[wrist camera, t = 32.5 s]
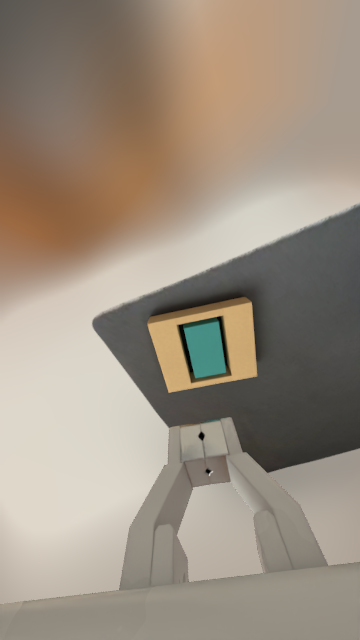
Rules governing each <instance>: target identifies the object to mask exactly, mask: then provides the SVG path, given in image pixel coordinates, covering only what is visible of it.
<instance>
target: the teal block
mask: <svg viewBox="0 0 360 640" xmlns="http://www.w3.org/2000/svg"><path fill="white" fill-rule="evenodd" d="M183 326H184V332H185V336H186V341H187V345H188V349H189V354H190V358H191V362H192V367H193V371H194V375H195V378H200V377H206V376H211V375H217V374H222V373H226V368H225V361H224V354H223V347H222V340H221V334H220V327H219V321H218V319H217V317H213V318H208V319H204V320H199V321H194V322H189V323H184V324H183Z"/></svg>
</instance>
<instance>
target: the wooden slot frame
mask: <svg viewBox="0 0 360 640" xmlns="http://www.w3.org/2000/svg"><path fill="white" fill-rule="evenodd" d="M218 316H221V322H222V329H223V336H224V343H225V350H226V357H227V364H228V366H225V368H226V373H222V374H217V375H211V376H206V377H200V378H195V375H194V372H190V371H189V367H188V363H187V358H186V354H185V350H184V346H183V342H182V338H181V334H180V330H179V326H178V325H180V324H184V323H189V322H194V321H199V320H204V319H208V318H213V317H218ZM147 325H148V328H149V331H150V334H151V337H152V341H153V344H154V347H155V350H156V353H157V356H158V360H159V363H160V366H161V369H162V372H163V375H164V379H165V382H166V385H167V388H168V391H169V392H175V391H180V390H185V389H191V388H196V387H201V386H207V385H212V384H217V383H223V382H228V381H232V380H233V381H234V380H240V379H245V378H250V377H256V376H257V367H256V353H255V339H254V325H253V312H252V302H251V301H250V300H249V299H247V298H246V297H241V298H236V299H231V300H227V301H222V302H218V303H213V304H208V305H204V306H199V307H194V308H189V309H185V310H180V311H175V312H170V313H166V314H161V315H156V316H152V317H150V318H149V321H148V324H147Z"/></svg>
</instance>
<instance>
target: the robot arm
mask: <svg viewBox="0 0 360 640" xmlns="http://www.w3.org/2000/svg"><path fill="white" fill-rule="evenodd" d="M225 482H231V484H232V485H233V486H234V488H235V489H236V490H237V491H238V493H239V494H240V496H241V497H242V498H243V500H244V501H245V503H246V504H247V505H248V507H249V508H250V509H251V511H252V512H253V513H254V526H255V534H256V542H257V550H258V554H259V558H260V562H261V565H262V569H263V573H262V574H254V575H246V576H237V577H228V578H220V579H212V580H203V581H194V582H189V581H188V560H187V557H186V554H185V552H184V550H183V548H182V546H181V544H180V542H179V539H178V537H177V533H178V530H179V527H180V524H181V521H182V518H183V516H184V513H185V510H186V507H187V504H188V501H189V498H190V495H191V493H192V490H193V488H192V487H198V486H203V485H209V484H216V483H225ZM0 640H360V562H357V563H348V564H340V565H331V566H328V564H327V562H326V560H325V558H324V555H323V553H322V551H321V549H320V547H319V545H318V543H317V541H316V538H315V536H314V534H313V532H312V530H311V528H310V526H309V523H308V521H307V519H306V517H305V515H304V513H303V511H302V509H301V507H300V505H299V504H298V503H297V502H296V501H295V500H294V499H293V498H292V497H291V496H290V495H289V494H288V493H287V492H286V491H285V490H284V489H283V488H282V487H281V486H280V485H279V484H278V483H277V482H276V481H275V480H274V479H273V478H272V477H271V476H270V475H269V474H268V473H267V472H266V471H265V470H264V469H263V468H262V467H261V466H260V465H259V464H257V463H256V462H255V461H254V460H253V459H252V458H251V457H250V456H249V455H248V454H247V453H246V452H245V453H243V452H242V449H241V446H240V443H239V439H238V436H237V433H236V430H235V427H234V424H233V421H232V418H231V417H228V418H223V419H216V420H211V421H205V422H200V423H196V424H189V425H182V426H176V427H170V429H169V444H168V465H165V466H164V467H163V469H162V471H161V473H160V474H159V476H158V478H157V480H156V481H155V484H154V485H153V487H152V489H151V490H150V492H149V494H148V496H147V497H146V499H145V501H144V503H143V505H142V507H141V508H140V510H139V512H138V514H137V516H136V517H135V519H134V521H133V522H132V524H131V526H130V528H129V534H128V540H127V546H126V552H125V558H124V564H123V570H122V577H121V582H120V588H119V590H117V591H109V592H101V593H92V594H83V595H74V596H66V597H57V598H49V599H40V600H32V601H23V602H15V603H7V604H0Z"/></svg>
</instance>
